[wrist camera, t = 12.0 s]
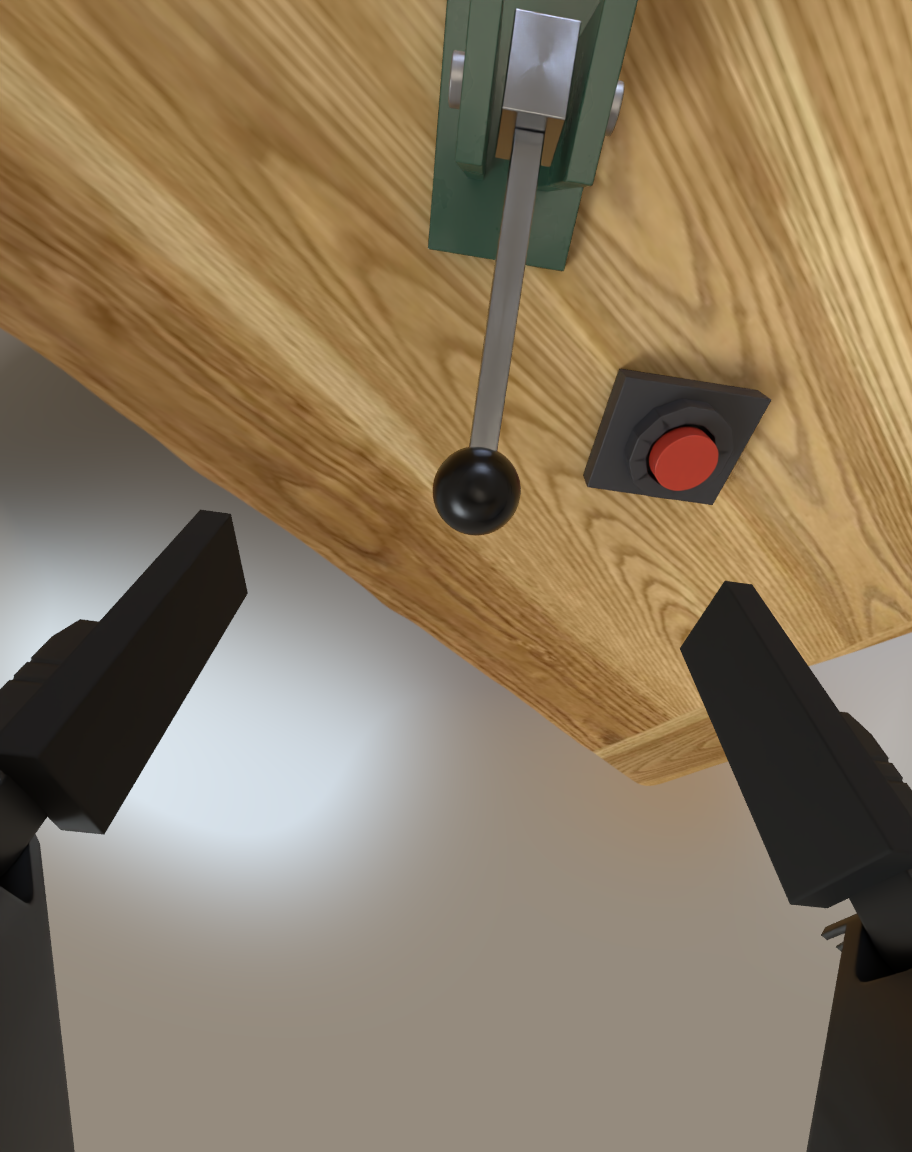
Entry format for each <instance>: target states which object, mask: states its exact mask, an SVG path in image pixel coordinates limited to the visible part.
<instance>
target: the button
mask: <svg viewBox="0 0 912 1152" xmlns="http://www.w3.org/2000/svg"><path fill="white" fill-rule="evenodd" d="M717 462H718V449H717V446H716V445H715V443H714V442H713V441H712V440H711V439H710V438H709V437H708V436H707V435H706V434H705V433H704V432H703V431H702V430H700V429H698V428H695V427H689V426H687V427H679V428H676V429H673V430H671V431H669V432H667V433H666V434H664V435H663V436H662V437H661V438H660V439H659V440H658V441H657V442H656V443H655V444H654V446H653V448H652V450H651V452H650V456H649V465H650V469H651V471H652V472H653V474H654V476H655V477H656V479H657V480H658V482H659V483H660V484H661V485H662V486H663V487H665V488H667V489H670V490H675V491H682V490H687V489H691V488H693V487H696V486H698V485H699V484H701V483H702V482H704V481H705V480H706V479H707V478H708V477H709V476H710V475H711V474H712V472H713V471H714V469H715V467H716V465H717Z"/></svg>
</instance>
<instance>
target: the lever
mask: <svg viewBox="0 0 912 1152" xmlns="http://www.w3.org/2000/svg"><path fill="white" fill-rule="evenodd" d="M580 28H581V21H579V20H574V19H569V18H563V17H558V16H553V15H548V14H543V13H537V12H532V11H527V10H522V9H516V10H515V14H514V21H513V28H512V35H511V42H510V49H509V56H508V63H507V70H506V77H505V84H504V92H503V99H502V106H501V114H500V121H499V129H498V136H497V143H496V151H495V157H496V158H501V159H507V160H509V166H508V173H507V180H506V187H505V194H504V201H503V209H502V216H501V223H500V230H499V237H498V244H497V251H496V258H495V265H494V273H493V280H492V287H491V294H490V301H489V308H488V315H487V322H486V329H485V336H484V344H483V351H482V358H481V365H480V372H479V379H478V386H477V393H476V400H475V408H474V415H473V422H472V429H471V436H470V443H469V447H466V448H463V449H460V450H458V451H456V452H454V453H453V454H451V455H450V456H449V457H448V458H447V459H446V460H445V461H444V462H443V463H442V464H441V466H440V467H439V469H438V471H437V473H436V476H435V479H434V483H433V499H434V503H435V506H436V509H437V511H438V513H439V515H440V516H441V518H442V519H443V520H444V521H445V522H446V523H447V524H448V525H449V526H450V527H452V528H453V529H455V530H457V531H459V532H461V533H464V534H468V535H485V534H489V533H492V532H494V531H496V530H498V529H500V528H501V527H503V526H504V525H505V524H506V523H507V522H508V521H509V520H510V519H511V518H512V516H513V515H514V513H515V511H516V509H517V507H518V504H519V500H520V494H521V486H520V480H519V477H518V474H517V472H516V469H515V468H514V466H513V464H512V463H511V462H510V461H509V460H508V459H507V458H506V457H505V456H504V455H503V454H501V453H500V452H498V451H497V449H498V442H499V435H500V429H501V422H502V416H503V409H504V403H505V396H506V389H507V383H508V376H509V370H510V363H511V356H512V350H513V343H514V337H515V330H516V324H517V317H518V310H519V304H520V297H521V291H522V284H523V277H524V271H525V264H526V258H527V251H528V245H529V238H530V231H531V225H532V218H533V212H534V205H535V199H536V192H537V185H538V179H539V172H540V166H546V167H550V166H551V164H552V161H553V158H554V155H555V152H556V149H557V145H558V142H559V139H560V136H561V133H562V130H563V127H564V124H565V121H566V116H567V110H568V104H569V97H570V91H571V85H572V79H573V72H574V66H575V60H576V53H577V47H578V41H579V34H580Z"/></svg>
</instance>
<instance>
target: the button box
mask: <svg viewBox="0 0 912 1152" xmlns="http://www.w3.org/2000/svg"><path fill="white" fill-rule="evenodd" d="M770 402H771V399H769V398H768V397H767V396H765V395H764V394H762V393H761V392H759V391H758V390H753V389H746V388H740V387H734V386H727V385H721V384H714V383H708V382H702V381H695V380H689V379H683V378H676V377H670V376H664V375H657V374H651V373H645V372H638V371H632V370H625V369H619V371H618V374H617V377H616V380H615V383H614V386H613V389H612V392H611V395H610V398H609V401H608V403H607V406H606V409H605V412H604V415H603V418H602V421H601V424H600V427H599V430H598V433H597V436H596V439H595V442H594V445H593V448H592V451H591V454H590V457H589V460H588V462H587V465H586V468H585V471H584V474H583V476H584V479H585V481H586V484H587V487H591V488H598V489H605V490H612V491H619V492H626V493H633V494H640V495H647V496H651V497H658V498H665V499H674V500H681V501H688V502H695V503H702V504H709V505H713V503H714V501H715V500H716V498H717V496H718V494H719V493H720V491H721V489H722V487H723V485H724V484H725V482H726V480H727V478H728V476H729V475H730V473H731V471H732V469H733V468H734V466H735V464H736V462H737V460H738V459H739V457H740V455H741V453H742V452H743V450H744V448H745V446H746V444H747V443H748V441H749V439H750V437H751V435H752V434H753V432H754V430H755V428H756V427H757V425H758V423H759V421H760V419H761V418H762V416H763V414H764V412H765V411H766V409H767V407H768V405H769V403H770ZM687 426H689V427H695V428H698V429H700V430H702V431H703V432H704V433H705V434H706V435H707V436H708V437H709V438H710V439H711V440H712V441H713V442H714V443H715V445H716V446H717V449H718V462H717V465H716V467H715V469H714V471H713V472H712V474H711V475H710V476H709V477H708V478H707V479H706V480H705V481H704V482H702V483H701V484H699V485H698V486H696V487H693V488H691V489H687V490H682V491H675V490H670V489H667V488H665V487H663V486H662V485H661V484H660V483H659V482H658V480H657V479H656V477H655V476H654V474H653V472H652V471H651V469H650V465H649V456H650V452H651V450H652V448H653V446H654V444H655V443H656V442H657V441H658V440H659V439H660V438H661V437H662V436H663V435H664V434H666V433H667V432H669V431H671V430H673V429H676V428H679V427H687Z"/></svg>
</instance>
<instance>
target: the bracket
mask: <svg viewBox="0 0 912 1152" xmlns="http://www.w3.org/2000/svg"><path fill="white" fill-rule="evenodd" d="M637 2H638V0H447V8H446V21H445V34H444V47H443V60H442V73H441V86H440V99H439V112H438V125H437V138H436V151H435V165H434V178H433V191H432V204H431V217H430V230H429V243H428V248H429V249H432V250H438V251H444V252H450V253H456V254H462V255H468V256H474V257H480V258H486V259H492V260H495V258H496V251H497V244H498V237H499V230H500V223H501V216H502V209H503V201H504V194H505V187H506V180H507V173H508V166H509V160H507V159H501V158H496V157H495V151H496V143H497V136H498V129H499V121H500V114H501V106H502V99H503V92H504V84H505V77H506V70H507V63H508V56H509V49H510V42H511V35H512V28H513V21H514V14H515V10H516V9H522V10H527V11H532V12H537V13H543V14H548V15H553V16H558V17H563V18H569V19H574V20H579V21H581V28H580V34H579V41H578V47H577V53H576V60H575V66H574V72H573V79H572V85H571V91H570V97H569V104H568V110H567V116H566V121H565V124H564V127H563V130H562V133H561V136H560V139H559V142H558V145H557V149H556V152H555V155H554V158H553V161H552V164H551V166H550V167H546V166H540V172H539V179H538V185H537V192H536V199H535V205H534V212H533V218H532V225H531V231H530V238H529V245H528V251H527V258H526V264H525V265H528V266H534V267H540V268H546V269H552V270H558V271H564V268H565V264H566V260H567V256H568V251H569V247H570V243H571V239H572V234H573V230H574V226H575V222H576V217H577V213H578V209H579V205H580V201H581V196H582V192H583V188H584V187H586V186H592V185H593V182H594V177H595V173H596V169H597V165H598V161H599V157H600V153H601V149H602V145H603V141H604V137H605V136H610V135H611V134H612V132H613V130H614V127H615V125H616V122H617V119H618V116H619V112H620V108H621V104H622V100H623V95H624V82H623V81H619V75H620V71H621V67H622V63H623V59H624V55H625V51H626V47H627V43H628V39H629V35H630V31H631V27H632V22H633V18H634V14H635V10H636V6H637Z"/></svg>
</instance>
